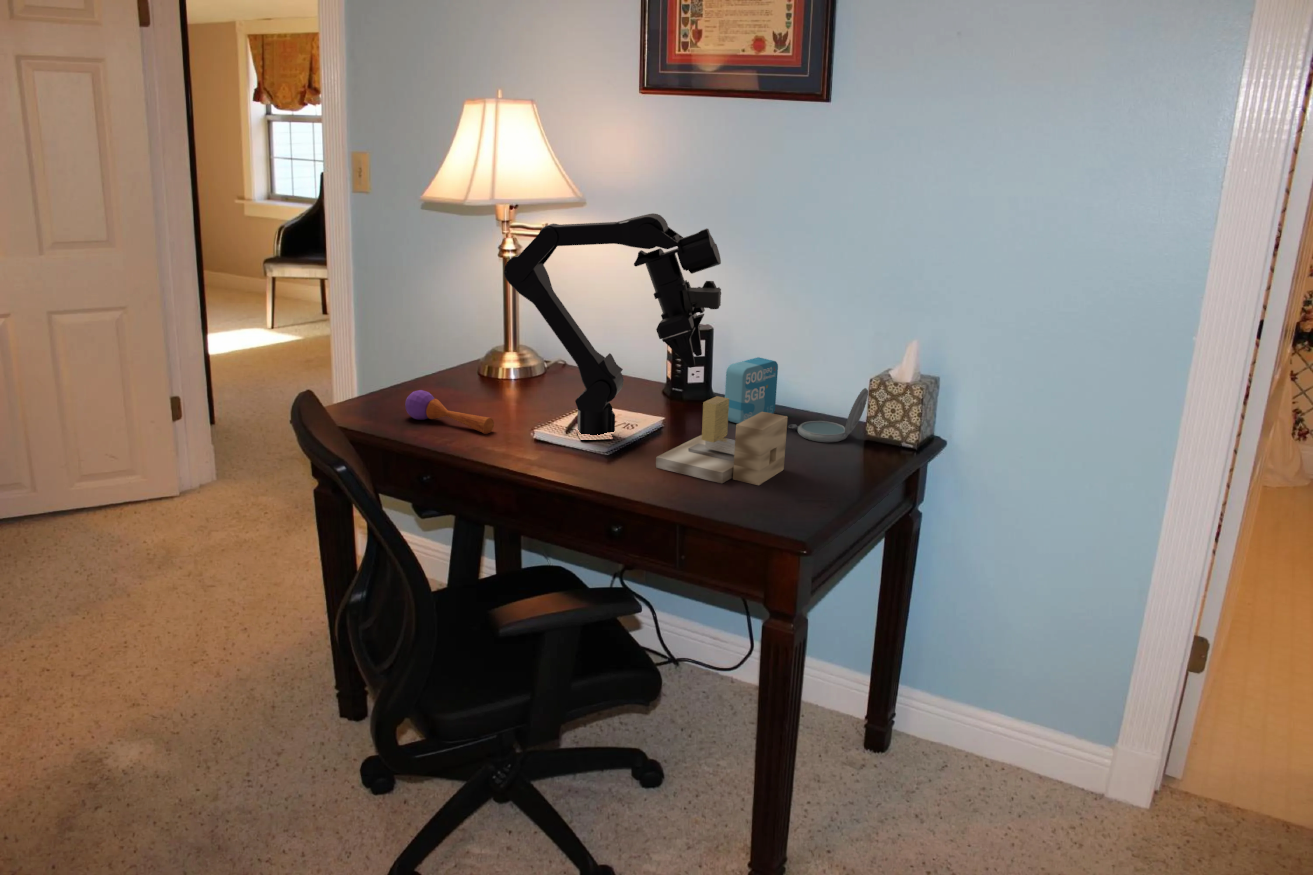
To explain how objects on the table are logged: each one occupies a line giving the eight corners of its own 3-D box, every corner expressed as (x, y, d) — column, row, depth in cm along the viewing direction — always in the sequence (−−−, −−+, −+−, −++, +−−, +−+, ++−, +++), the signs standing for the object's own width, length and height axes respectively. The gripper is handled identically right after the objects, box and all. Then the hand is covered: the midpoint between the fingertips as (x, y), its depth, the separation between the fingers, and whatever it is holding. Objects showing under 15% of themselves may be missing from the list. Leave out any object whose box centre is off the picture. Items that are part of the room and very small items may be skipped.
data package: (740, 426, 216) (743, 369, 212) (722, 421, 219) (725, 365, 215) (775, 415, 225) (779, 359, 221) (757, 410, 228) (761, 355, 224)
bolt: (701, 450, 191) (703, 402, 189) (714, 443, 196) (717, 396, 193) (735, 458, 188) (738, 409, 185) (748, 450, 192) (751, 402, 189)
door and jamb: (655, 467, 191) (657, 414, 188) (700, 445, 204) (702, 394, 201) (750, 490, 182) (754, 434, 178) (790, 465, 195) (794, 412, 191)
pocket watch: (858, 394, 201) (783, 383, 208) (852, 449, 205) (779, 436, 211) (873, 383, 210) (800, 372, 216) (867, 436, 213) (796, 423, 220)
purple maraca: (477, 419, 202) (397, 394, 211) (480, 446, 205) (400, 420, 214) (497, 406, 207) (417, 382, 216) (499, 433, 210) (420, 408, 219)
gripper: (702, 276, 184) (731, 360, 188) (715, 260, 202) (741, 337, 206) (643, 295, 187) (672, 378, 191) (661, 279, 205) (687, 354, 208)
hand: (696, 361), depth 199 cm, fingers open, 9 cm apart
